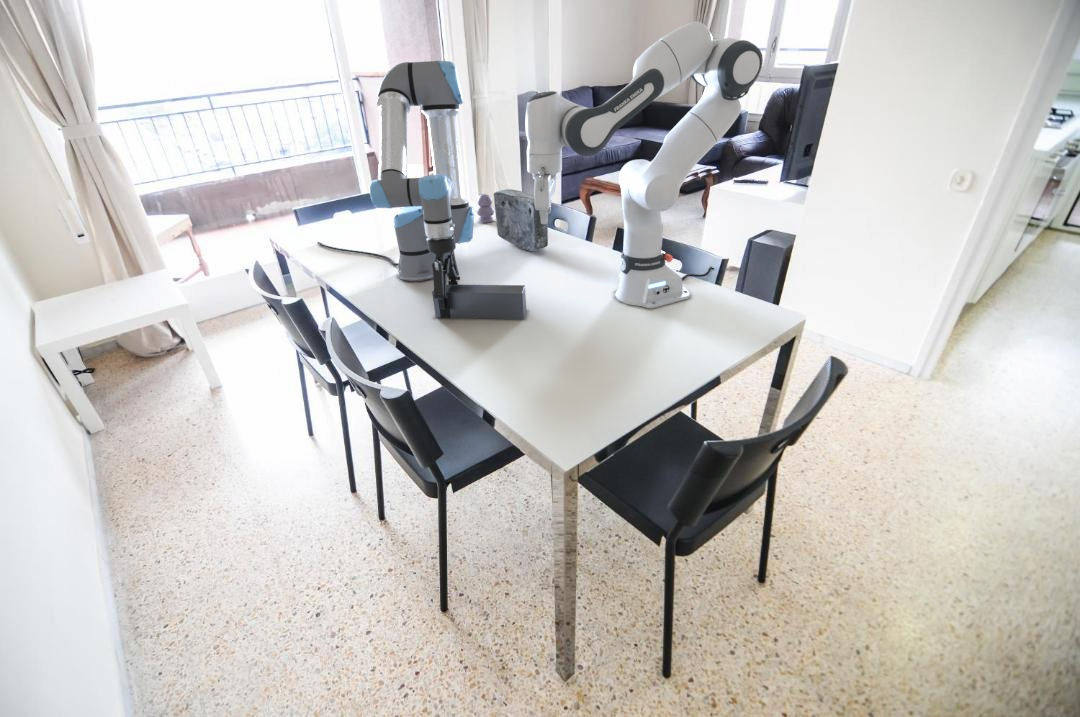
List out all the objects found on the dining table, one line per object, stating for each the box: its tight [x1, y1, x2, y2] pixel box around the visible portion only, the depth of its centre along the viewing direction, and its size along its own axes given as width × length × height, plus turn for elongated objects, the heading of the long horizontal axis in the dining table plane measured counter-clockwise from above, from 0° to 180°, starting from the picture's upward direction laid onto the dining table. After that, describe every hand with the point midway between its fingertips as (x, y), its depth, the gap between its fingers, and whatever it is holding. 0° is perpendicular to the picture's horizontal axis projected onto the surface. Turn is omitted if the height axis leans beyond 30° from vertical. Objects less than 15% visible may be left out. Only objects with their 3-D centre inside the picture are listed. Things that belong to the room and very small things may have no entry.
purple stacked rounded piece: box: [476, 193, 495, 224], centre depth 226 cm, size 8×8×12 cm
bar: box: [431, 284, 527, 321], centre depth 145 cm, size 26×6×8 cm, turn 84°
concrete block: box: [493, 188, 549, 252], centre depth 191 cm, size 27×9×20 cm, turn 36°
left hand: (450, 309), depth 147 cm, fingers open, 10 cm apart
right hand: (546, 218), depth 134 cm, fingers open, 8 cm apart
